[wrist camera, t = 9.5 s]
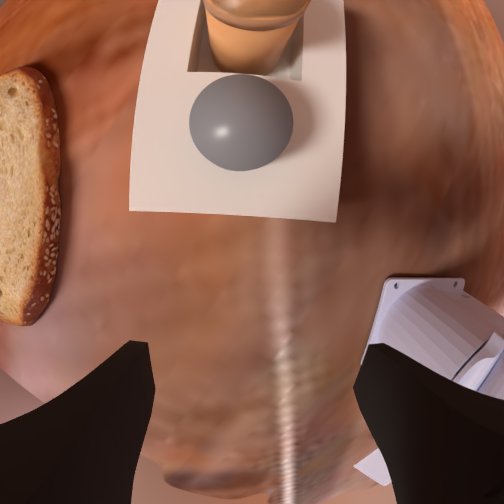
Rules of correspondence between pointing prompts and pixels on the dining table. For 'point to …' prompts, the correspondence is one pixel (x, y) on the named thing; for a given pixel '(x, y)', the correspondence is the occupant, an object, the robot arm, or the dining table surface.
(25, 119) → the bread slice
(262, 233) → the dining table surface
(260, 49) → the orange tapered cylinder
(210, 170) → the cream block with recess
